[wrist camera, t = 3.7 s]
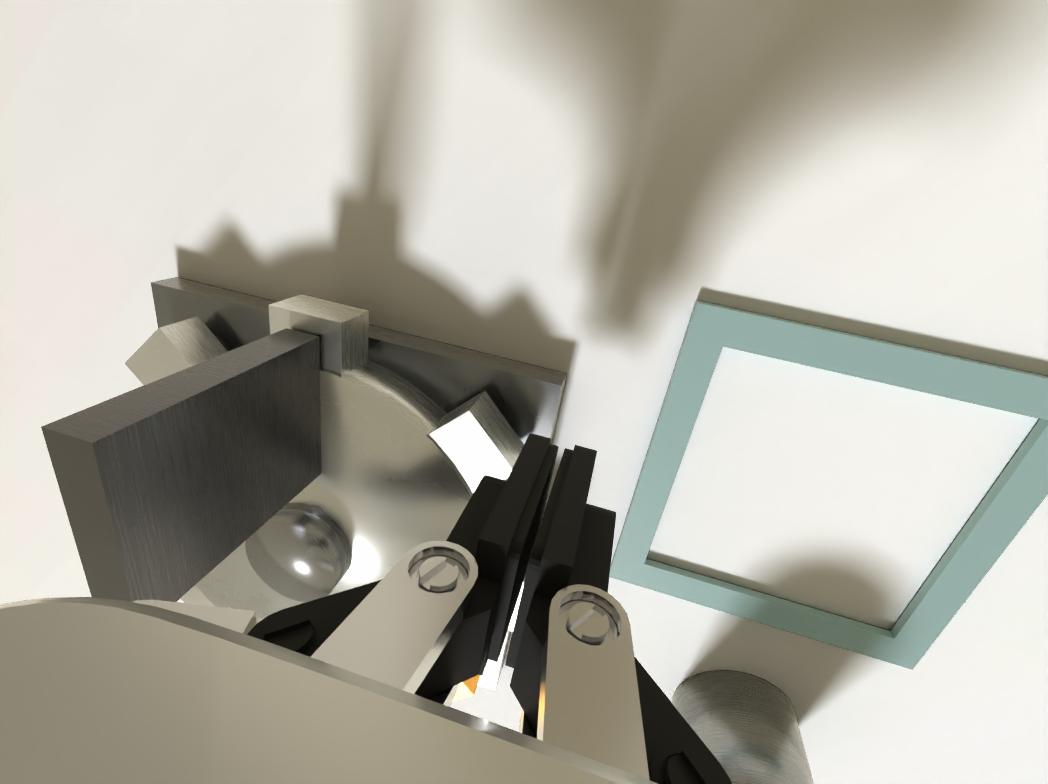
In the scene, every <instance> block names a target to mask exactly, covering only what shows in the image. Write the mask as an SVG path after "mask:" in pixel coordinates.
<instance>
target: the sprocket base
mask: <svg viewBox="0 0 1048 784" xmlns="http://www.w3.org/2000/svg"><path fill="white" fill-rule="evenodd" d="M151 286H152V292H153V298H154V304H155V310H156V317H157V323H158V328H160V327H163V326H167V325H170V324H173V323H177V322H180V321H184V320H187V319H190V318H194V317H197V316H199V318H200V319H201V320H202V321H203V322H204V324H205V325H206V326H207V327H208V328H209V330H210V331H211V332H212V333H213V334H214V336H215V337H216V338H217V339H218V340H219V342H220V343H221V344H222V345H223V347H224V348H225V349H226V350H227V351H228V352H229V351H231V350H234V349H236V348H239V347H241V346H243V345H246V344H248V343H251V342H253V341H256V340H258V339H261V338H263V337H266V336H268V335H270V322H269V304H272V303H276V301H272V300H267V299H263V298H259V297H255V296H251V295H247V294H243V293H239V292H235V291H231V290H227V289H223V288H219V287H215V286H211V285H207V284H203V283H199V282H195V281H191V280H187V279H183V278H179V277H175V278H170V279H165V280H161V281H156V282H151ZM368 360H370V361H372V362H374V363H376V364H379V365H381V366H383V367H385V368H387V369H389V370H390V371H392V372H394V373H395V374H397V375H399V376H400V377H402V378H404V379H405V380H407V381H409V382H410V383H411V384H413V385H414V386H415V387H417V388H418V389H419V390H421V391H422V392H423V393H424V394H426V395H427V396H428V397H430V398H431V399H432V400H433V401H434V402H435V403H437V404H438V405H439V406H440V407H441V408H442V409H443V410H444V411H445V412H446V413H449V412H450V411H452V410H454V409H455V408H457V407H459V406H460V405H462V404H464V403H465V402H467V401H469V400H470V399H472V398H474V397H475V396H477V395H479V394H480V393H482V392H484V391H486V392H487V394H488V395H489V396H490V398H491V399H492V401H493V402H494V403H495V405H496V406H497V408H498V409H499V410H500V412H501V413H502V415H503V416H504V417H505V419H506V420H507V422H508V423H509V424H510V426H511V427H512V428H513V430H514V431H515V433H516V434H517V435H518V437H519V438H520V440H521V441H522V442H523V444H525V442H526V440H527V438H528V436H529V434H530V433H533V434H536V435H540V436H544V437H547V438H551V444H552V439H553V435H554V430H555V426H556V421H557V416H558V412H559V407H560V403H561V398H562V394H563V389H564V385H565V380H566V376H567V374H566V373H562V372H558V371H554V370H550V369H546V368H542V367H538V366H534V365H530V364H526V363H522V362H518V361H514V360H510V359H506V358H502V357H498V356H494V355H490V354H486V353H482V352H478V351H474V350H469V349H465V348H461V347H457V346H453V345H449V344H445V343H441V342H437V341H433V340H429V339H425V338H421V337H417V336H413V335H409V334H405V333H401V332H397V331H393V330H389V329H385V328H381V327H377V326H373V325H369V328H368ZM507 479H508V478H506V479H504V480H506V481H507ZM509 634H510V630H508V632H507V635H506V638H505V641H504V644H503V647H502V650H501V653H500V656H499V659H498V662H495V661H492V660H489V659H488V661H487V664H486V667H485V670H484V673H483V676H480V678H479V681H478V684H477V685H478V686H481V687H484V688H487V689H490V690H493V691H495V689H496V686H497V683H498V679H499V676H500V673H501V670H502V665H503V661H504V656H505V652H506V647H507V643H508V638H509Z"/></svg>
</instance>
